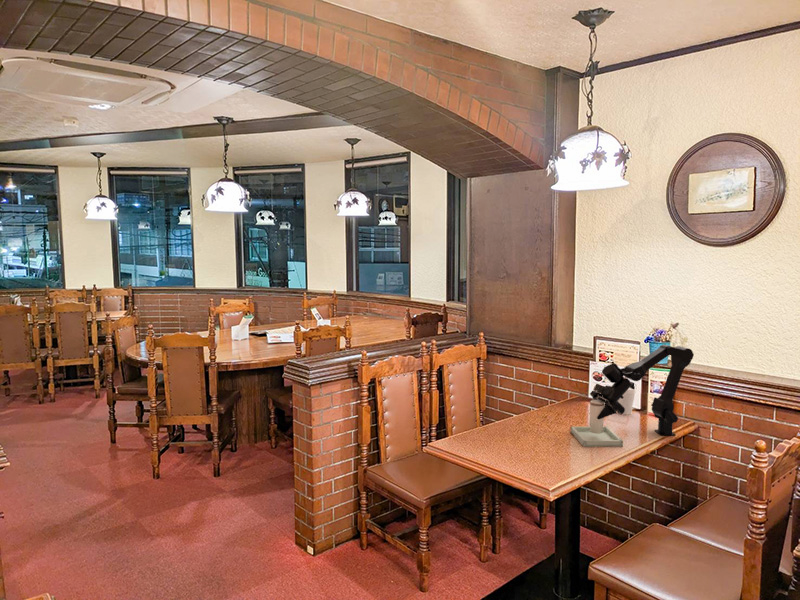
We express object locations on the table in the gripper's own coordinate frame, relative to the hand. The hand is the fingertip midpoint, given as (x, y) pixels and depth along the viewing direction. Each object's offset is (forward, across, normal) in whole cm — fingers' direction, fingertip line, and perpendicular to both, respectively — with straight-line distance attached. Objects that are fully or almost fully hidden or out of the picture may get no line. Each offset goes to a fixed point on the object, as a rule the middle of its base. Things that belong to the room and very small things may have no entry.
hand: (593, 416), depth 239 cm
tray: (+6, 0, +8) cm, 10 cm away
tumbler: (+4, 0, +6) cm, 7 cm away
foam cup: (-18, -31, +32) cm, 48 cm away
